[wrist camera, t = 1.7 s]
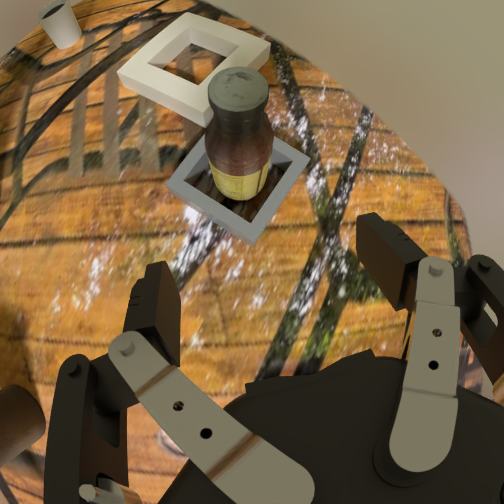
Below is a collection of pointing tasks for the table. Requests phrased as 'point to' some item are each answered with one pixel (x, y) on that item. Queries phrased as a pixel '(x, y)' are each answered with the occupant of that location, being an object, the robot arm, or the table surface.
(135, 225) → the table surface
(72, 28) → the white coffee cup
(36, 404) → the pillar candle
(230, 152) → the sauce bottle
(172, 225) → the table surface
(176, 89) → the socket collar
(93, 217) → the table surface
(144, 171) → the table surface
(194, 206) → the frame
